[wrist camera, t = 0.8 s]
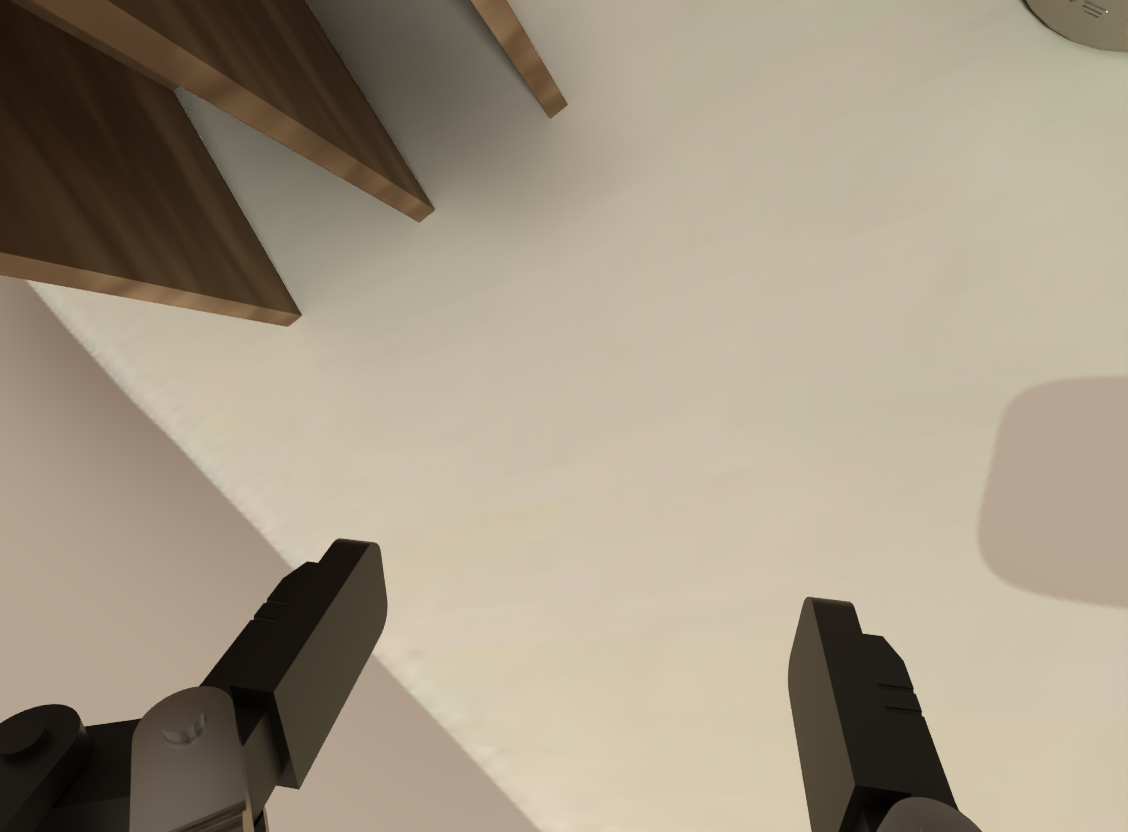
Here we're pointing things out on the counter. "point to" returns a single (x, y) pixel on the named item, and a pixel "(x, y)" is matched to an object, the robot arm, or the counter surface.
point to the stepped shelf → (181, 141)
